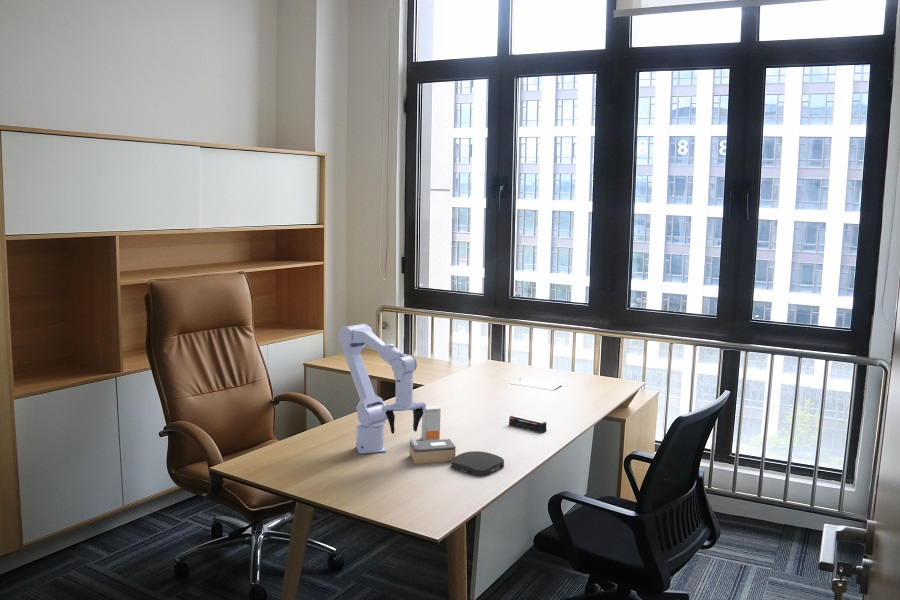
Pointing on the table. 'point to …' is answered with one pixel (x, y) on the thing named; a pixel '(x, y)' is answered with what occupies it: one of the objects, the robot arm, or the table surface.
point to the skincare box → (431, 423)
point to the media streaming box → (477, 463)
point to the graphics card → (527, 423)
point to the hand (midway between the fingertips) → (403, 431)
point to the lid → (431, 445)
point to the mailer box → (432, 456)
